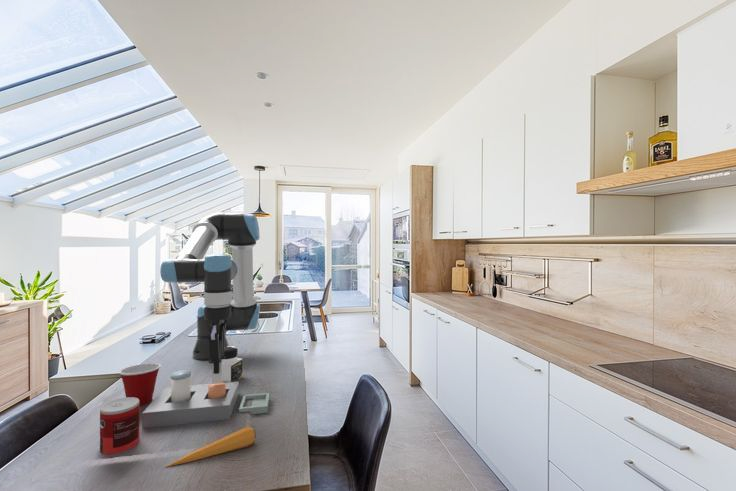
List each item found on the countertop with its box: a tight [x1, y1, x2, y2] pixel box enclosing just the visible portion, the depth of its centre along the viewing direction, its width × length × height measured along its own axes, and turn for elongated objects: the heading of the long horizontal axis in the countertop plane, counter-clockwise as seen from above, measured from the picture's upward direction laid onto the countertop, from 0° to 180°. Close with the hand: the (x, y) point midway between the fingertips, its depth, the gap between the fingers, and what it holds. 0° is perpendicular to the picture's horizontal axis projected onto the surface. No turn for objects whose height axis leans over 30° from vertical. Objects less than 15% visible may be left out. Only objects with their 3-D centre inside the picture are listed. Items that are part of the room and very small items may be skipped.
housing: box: [141, 381, 240, 429], centre depth 98 cm, size 16×22×5 cm
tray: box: [238, 392, 270, 415], centre depth 102 cm, size 9×8×2 cm
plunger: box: [208, 381, 227, 399], centre depth 100 cm, size 5×5×6 cm
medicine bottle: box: [221, 345, 243, 383], centre depth 122 cm, size 7×7×12 cm
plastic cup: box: [118, 362, 161, 407], centre depth 102 cm, size 11×11×12 cm
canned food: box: [99, 396, 141, 458], centre depth 81 cm, size 8×8×11 cm
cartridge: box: [170, 369, 192, 403], centre depth 98 cm, size 5×5×11 cm
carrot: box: [164, 426, 257, 468], centre depth 79 cm, size 20×4×4 cm, turn 120°
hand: (217, 382), depth 100 cm, fingers closed
